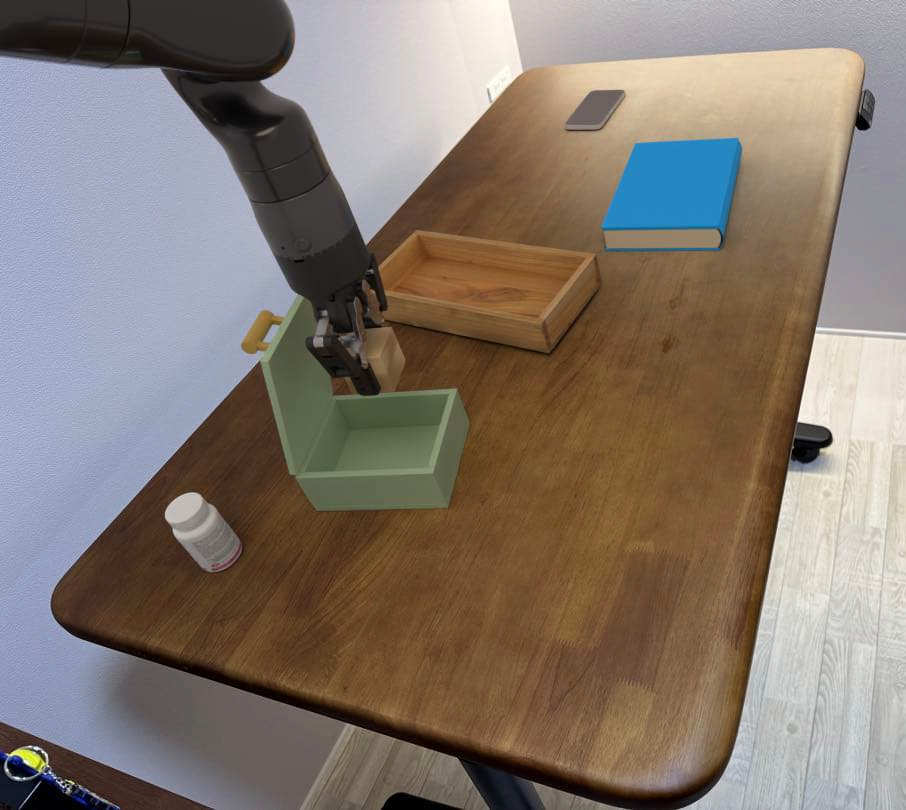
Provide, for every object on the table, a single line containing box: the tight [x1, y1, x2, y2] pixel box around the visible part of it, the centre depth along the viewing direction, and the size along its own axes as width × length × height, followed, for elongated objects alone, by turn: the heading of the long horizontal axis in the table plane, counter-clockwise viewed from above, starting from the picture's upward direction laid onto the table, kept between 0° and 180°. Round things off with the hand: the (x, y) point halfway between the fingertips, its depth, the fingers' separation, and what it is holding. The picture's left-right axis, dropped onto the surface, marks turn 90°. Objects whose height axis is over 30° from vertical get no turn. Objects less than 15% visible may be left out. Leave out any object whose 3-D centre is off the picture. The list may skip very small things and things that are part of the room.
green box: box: [295, 388, 471, 512], centre depth 88 cm, size 16×13×6 cm
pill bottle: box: [164, 491, 243, 573], centre depth 82 cm, size 5×5×8 cm
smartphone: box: [564, 89, 626, 130], centre depth 146 cm, size 7×1×15 cm
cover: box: [240, 293, 334, 476], centre depth 81 cm, size 16×13×5 cm
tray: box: [370, 229, 602, 354], centre depth 107 cm, size 31×15×6 cm, turn 60°
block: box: [343, 326, 407, 395], centre depth 76 cm, size 4×4×4 cm
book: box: [600, 137, 743, 252], centre depth 117 cm, size 17×4×25 cm
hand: (377, 374), depth 78 cm, fingers closed on block, 4 cm apart
